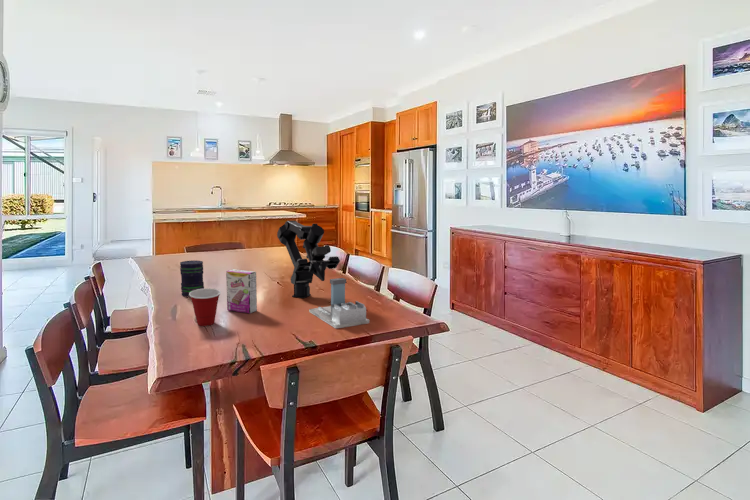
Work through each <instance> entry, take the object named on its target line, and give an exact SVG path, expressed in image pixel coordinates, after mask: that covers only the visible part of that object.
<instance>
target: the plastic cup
mask: <svg viewBox="0 0 750 500" xmlns="http://www.w3.org/2000/svg"><path fill="white" fill-rule="evenodd" d="M221 292H222V291H221V290H220V289H217V288H208V287H207V288H205V287H204V289H197V290H193V291H191V292H189V296H190V297H189V298H190V300H191V303H192V307H193V311H194V316H195V319H196V323H197V326H200V327H205V326H206V327H208V326H212V325H214V324H215V321H216V314H217V310H218V303H219V299H220V295H221ZM207 325H208V326H207Z"/></svg>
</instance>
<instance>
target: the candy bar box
mask: <svg viewBox="0 0 750 500" xmlns="http://www.w3.org/2000/svg"><path fill="white" fill-rule="evenodd" d="M225 275H226V277H225V278H226V305H227V307H226V308H227V311H229V312H235V313H236V312H237V313H243V314H244V313H245V314H253V313H254V312H257V310H258V300H257V292H258V291H257V271H253V270H243V269H234V268H233V269H229V270H226V274H225Z"/></svg>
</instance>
